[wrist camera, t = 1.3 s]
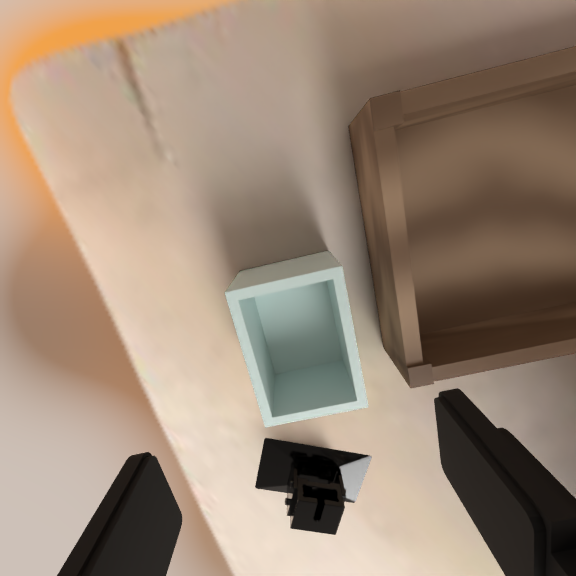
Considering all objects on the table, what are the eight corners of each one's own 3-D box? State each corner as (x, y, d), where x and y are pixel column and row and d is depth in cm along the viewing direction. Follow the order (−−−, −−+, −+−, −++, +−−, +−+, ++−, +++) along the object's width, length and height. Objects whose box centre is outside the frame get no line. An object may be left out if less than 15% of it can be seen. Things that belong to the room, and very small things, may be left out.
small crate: (350, 361, 23) (368, 407, 18) (270, 378, 24) (265, 427, 18) (328, 250, 21) (342, 265, 16) (240, 270, 21) (224, 292, 16)
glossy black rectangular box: (389, 446, 26) (409, 495, 22) (367, 508, 28) (382, 563, 24) (251, 424, 26) (243, 469, 21) (238, 488, 28) (229, 542, 23)
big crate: (652, 292, 22) (760, 318, 17) (384, 348, 23) (410, 388, 18) (678, 42, 18) (831, -22, 13) (348, 126, 19) (370, 98, 14)
